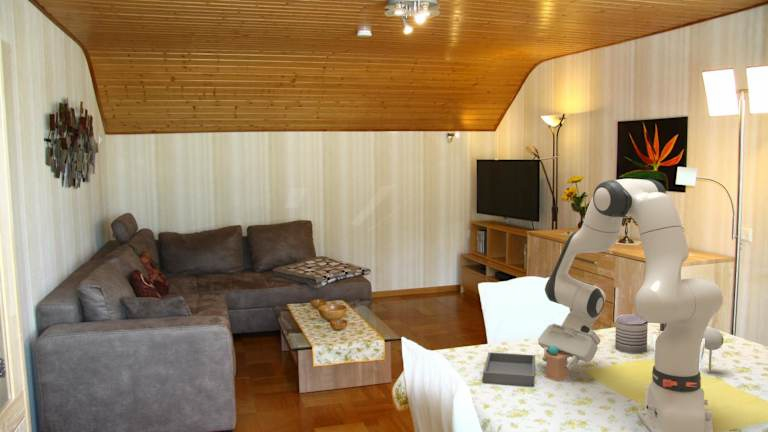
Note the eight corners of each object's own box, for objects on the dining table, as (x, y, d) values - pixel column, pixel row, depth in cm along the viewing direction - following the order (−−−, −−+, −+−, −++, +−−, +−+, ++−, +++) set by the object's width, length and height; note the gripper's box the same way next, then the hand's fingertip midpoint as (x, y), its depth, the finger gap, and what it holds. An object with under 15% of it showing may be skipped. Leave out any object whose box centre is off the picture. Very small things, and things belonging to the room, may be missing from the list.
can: (652, 354, 228) (653, 321, 227) (620, 354, 228) (621, 322, 227) (640, 344, 240) (641, 313, 238) (610, 344, 240) (610, 313, 238)
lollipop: (720, 378, 204) (722, 332, 203) (696, 374, 208) (698, 329, 206) (722, 371, 210) (724, 327, 209) (698, 367, 214) (700, 324, 212)
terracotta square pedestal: (555, 372, 212) (555, 350, 211) (569, 377, 207) (569, 354, 206) (544, 376, 208) (544, 354, 208) (557, 381, 204) (558, 358, 203)
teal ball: (559, 350, 206) (553, 343, 207) (552, 356, 206) (546, 349, 207) (560, 351, 208) (554, 343, 209) (553, 356, 209) (547, 349, 210)
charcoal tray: (534, 386, 200) (534, 376, 200) (483, 382, 204) (483, 372, 203) (535, 365, 219) (535, 355, 219) (488, 361, 223) (488, 352, 223)
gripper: (546, 317, 218) (526, 350, 214) (597, 331, 202) (576, 367, 197) (554, 327, 221) (535, 360, 217) (605, 342, 205) (585, 378, 200)
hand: (555, 364), depth 207 cm, fingers open, 8 cm apart
